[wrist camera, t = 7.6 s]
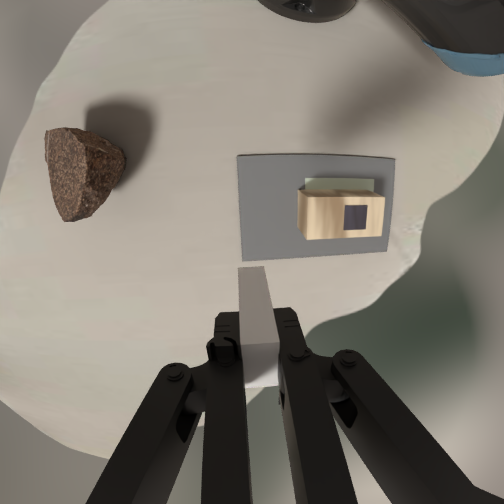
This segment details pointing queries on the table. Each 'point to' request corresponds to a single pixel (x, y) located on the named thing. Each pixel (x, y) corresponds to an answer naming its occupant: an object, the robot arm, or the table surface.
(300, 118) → the table surface
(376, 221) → the beech block
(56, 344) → the table surface
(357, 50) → the table surface
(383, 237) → the rubber mat
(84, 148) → the rock
